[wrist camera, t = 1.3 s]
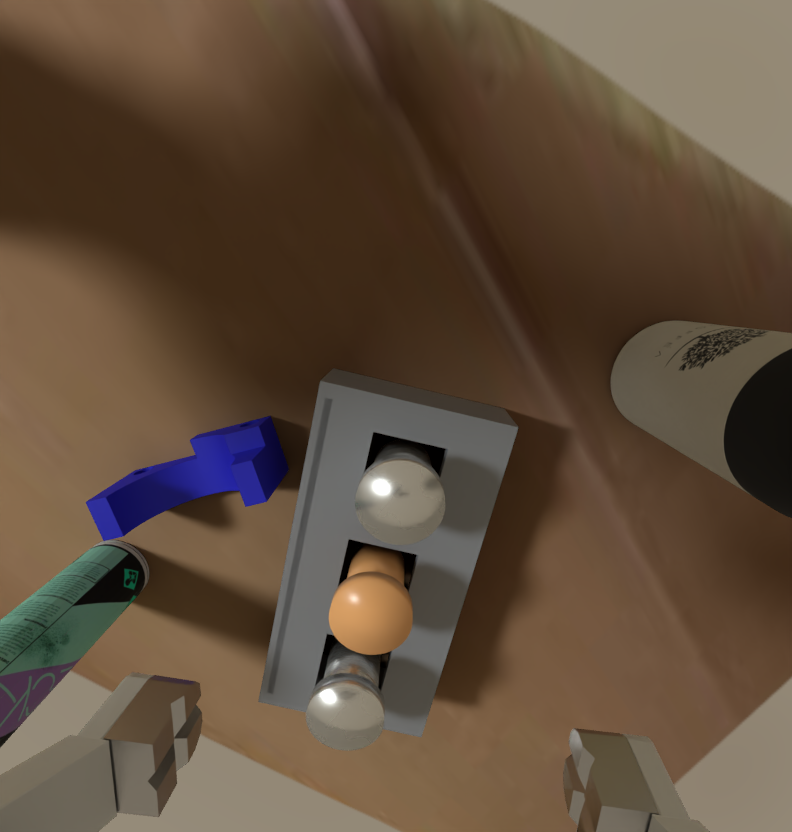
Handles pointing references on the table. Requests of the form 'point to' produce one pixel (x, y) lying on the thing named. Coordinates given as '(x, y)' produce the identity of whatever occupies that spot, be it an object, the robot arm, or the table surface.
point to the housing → (338, 522)
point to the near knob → (400, 495)
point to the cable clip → (196, 477)
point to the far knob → (347, 700)
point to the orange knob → (372, 602)
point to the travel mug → (715, 400)
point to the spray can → (63, 625)
